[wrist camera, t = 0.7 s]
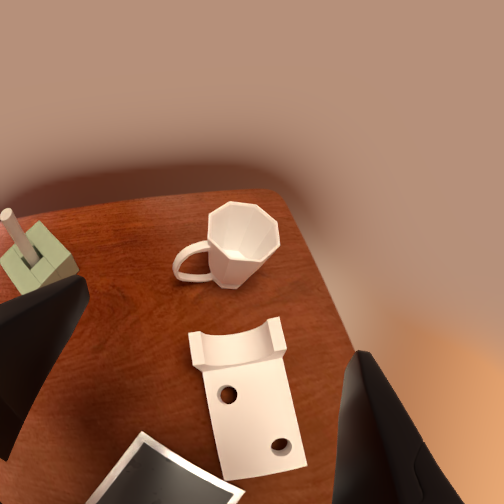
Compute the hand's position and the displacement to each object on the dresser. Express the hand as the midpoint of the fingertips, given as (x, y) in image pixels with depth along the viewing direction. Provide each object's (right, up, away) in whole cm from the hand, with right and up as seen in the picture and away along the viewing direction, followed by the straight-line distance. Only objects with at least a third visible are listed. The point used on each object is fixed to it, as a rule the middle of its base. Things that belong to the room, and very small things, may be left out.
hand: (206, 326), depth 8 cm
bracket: (0, -13, +16) cm, 21 cm away
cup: (-3, -1, +24) cm, 24 cm away
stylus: (-22, 0, +18) cm, 29 cm away
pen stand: (-22, 0, +18) cm, 29 cm away
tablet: (-7, -22, +8) cm, 24 cm away
